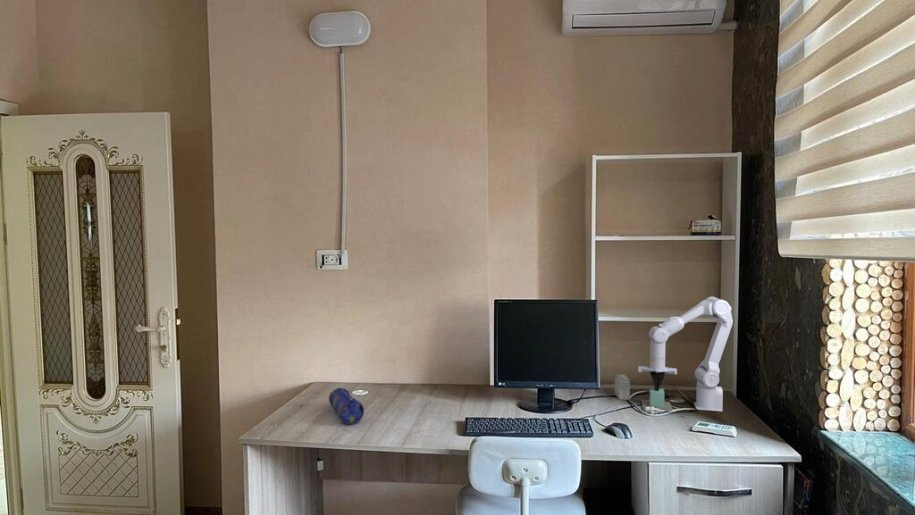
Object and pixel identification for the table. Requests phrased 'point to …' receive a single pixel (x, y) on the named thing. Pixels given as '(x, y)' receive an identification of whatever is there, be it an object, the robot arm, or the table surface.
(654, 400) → the seafoam green cube
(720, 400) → the robot arm
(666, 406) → the post board
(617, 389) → the medicine box
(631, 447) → the table surface
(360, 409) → the pencil case
